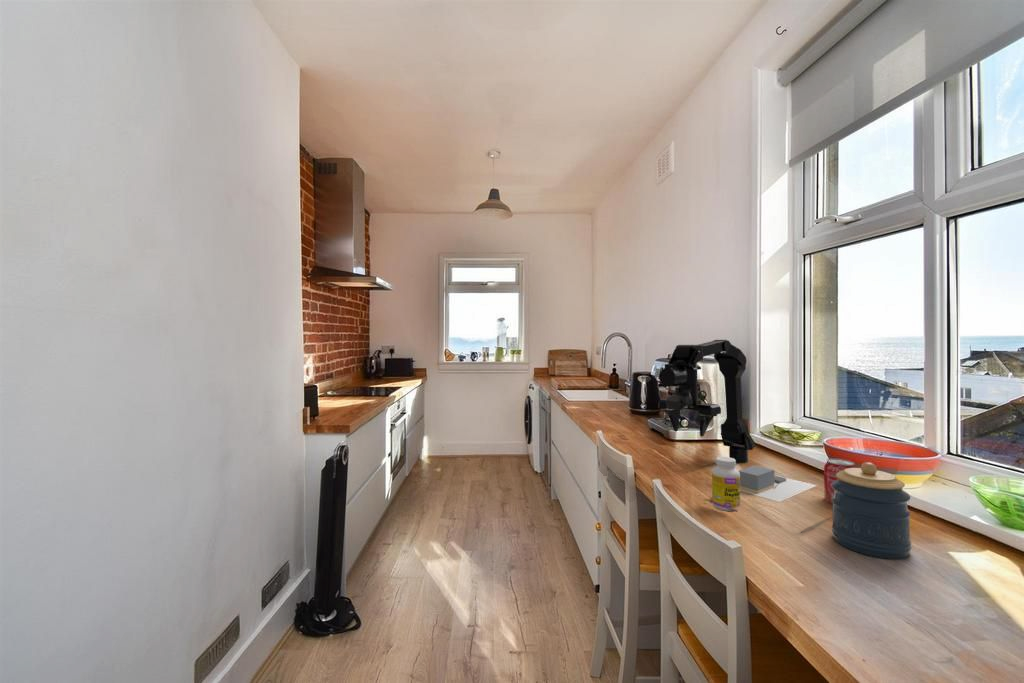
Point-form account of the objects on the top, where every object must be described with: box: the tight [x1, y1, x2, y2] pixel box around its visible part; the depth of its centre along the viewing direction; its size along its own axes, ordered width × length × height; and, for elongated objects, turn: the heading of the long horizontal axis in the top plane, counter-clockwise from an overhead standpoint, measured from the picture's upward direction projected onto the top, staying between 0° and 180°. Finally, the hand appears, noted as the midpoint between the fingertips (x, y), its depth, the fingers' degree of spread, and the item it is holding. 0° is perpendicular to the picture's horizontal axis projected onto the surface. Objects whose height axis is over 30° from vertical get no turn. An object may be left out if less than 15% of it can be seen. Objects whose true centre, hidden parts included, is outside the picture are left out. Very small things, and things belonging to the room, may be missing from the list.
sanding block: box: [738, 465, 775, 494], centre depth 124 cm, size 9×6×5 cm, turn 123°
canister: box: [831, 461, 912, 560], centre depth 92 cm, size 13×13×18 cm
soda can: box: [823, 458, 856, 505], centre depth 112 cm, size 7×7×12 cm
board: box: [740, 474, 818, 503], centre depth 126 cm, size 22×18×2 cm
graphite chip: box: [774, 475, 787, 484], centre depth 130 cm, size 4×4×1 cm
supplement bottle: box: [711, 456, 741, 513], centre depth 114 cm, size 7×7×13 cm
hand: (688, 433), depth 136 cm, fingers open, 9 cm apart
